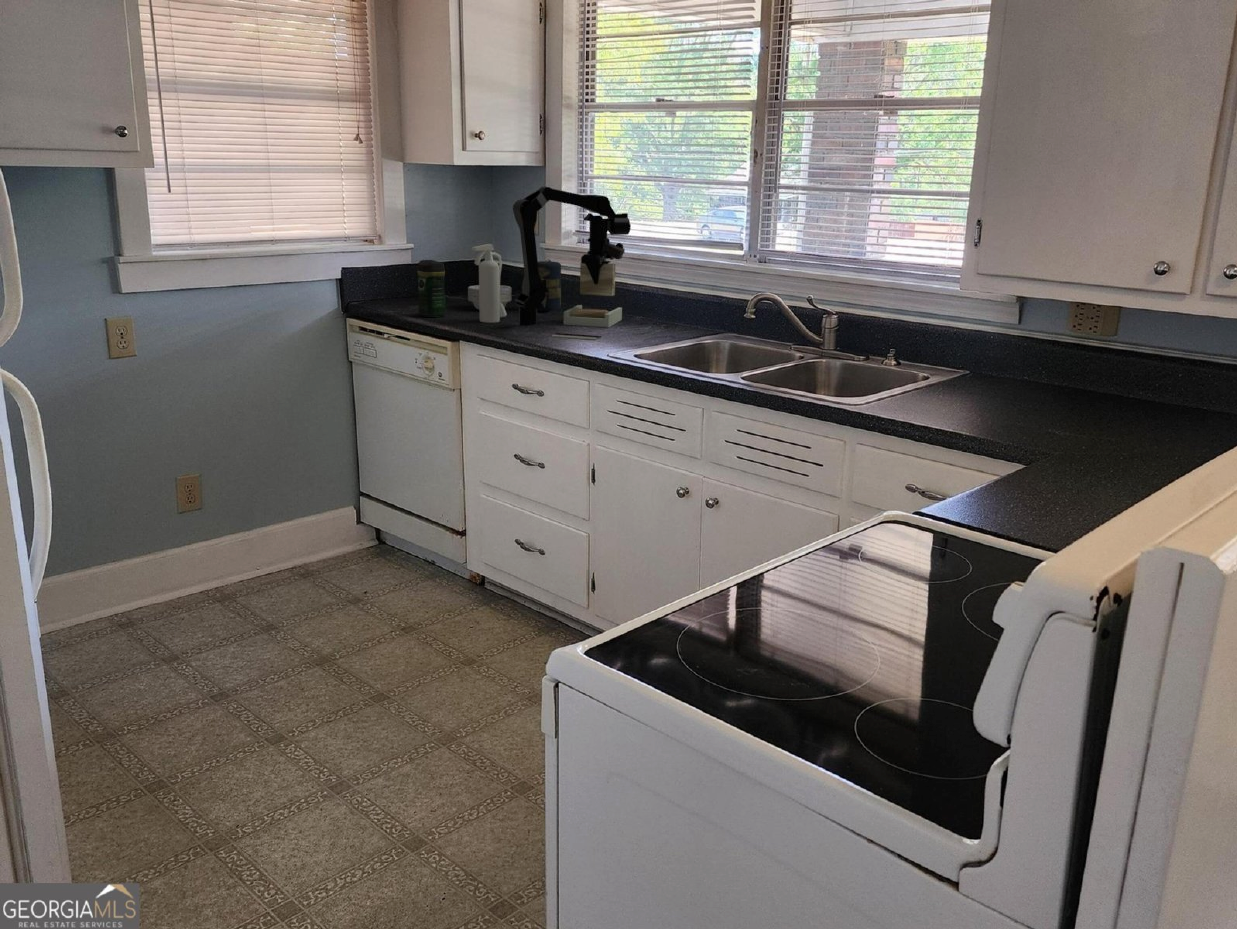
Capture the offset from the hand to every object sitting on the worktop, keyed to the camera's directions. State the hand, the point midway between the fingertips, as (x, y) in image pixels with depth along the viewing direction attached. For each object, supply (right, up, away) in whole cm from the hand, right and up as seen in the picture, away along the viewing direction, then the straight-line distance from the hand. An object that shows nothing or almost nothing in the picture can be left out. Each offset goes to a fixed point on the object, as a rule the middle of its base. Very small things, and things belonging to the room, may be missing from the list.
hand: (597, 283), depth 346 cm
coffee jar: (-56, -9, +10) cm, 58 cm away
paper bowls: (-39, -4, +28) cm, 48 cm away
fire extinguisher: (-35, -12, +3) cm, 37 cm away
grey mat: (-5, -19, -18) cm, 27 cm away
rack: (-1, -14, 0) cm, 14 cm away
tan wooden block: (0, -3, +1) cm, 4 cm away
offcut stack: (-3, -14, -4) cm, 15 cm away
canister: (-18, -5, +27) cm, 33 cm away
